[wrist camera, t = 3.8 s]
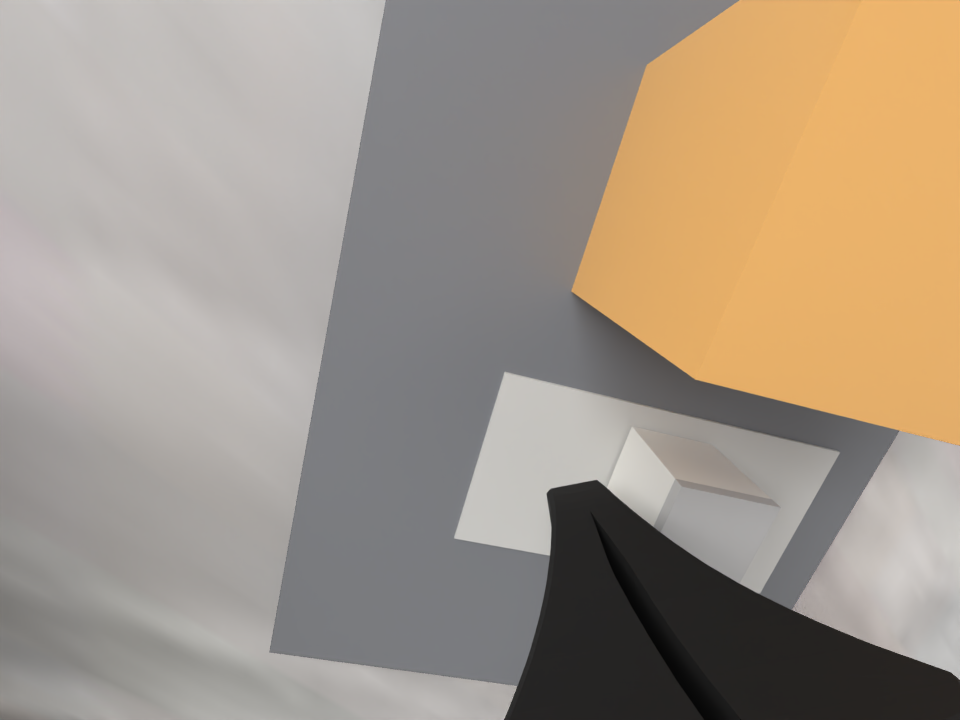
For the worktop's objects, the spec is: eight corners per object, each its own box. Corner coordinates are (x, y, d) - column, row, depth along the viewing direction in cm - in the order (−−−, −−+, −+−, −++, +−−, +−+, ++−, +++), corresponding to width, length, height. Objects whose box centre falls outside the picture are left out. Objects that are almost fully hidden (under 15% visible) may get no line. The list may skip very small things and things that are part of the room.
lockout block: (845, 135, 11) (1304, 57, 5) (750, 339, 12) (1021, 460, 6) (646, 65, 10) (915, -123, 4) (571, 291, 11) (694, 379, 6)
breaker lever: (712, 444, 13) (781, 508, 10) (657, 560, 14) (706, 643, 11) (631, 426, 12) (681, 486, 10) (582, 546, 14) (615, 630, 11)
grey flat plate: (1015, 125, 12) (1137, 108, 10) (706, 674, 18) (742, 738, 16) (418, -102, 10) (409, -187, 8) (285, 611, 16) (259, 677, 14)
